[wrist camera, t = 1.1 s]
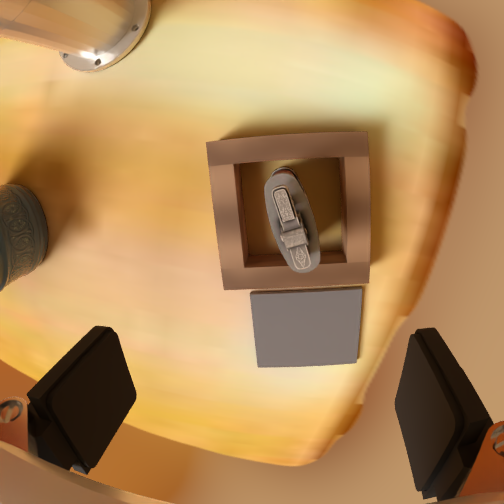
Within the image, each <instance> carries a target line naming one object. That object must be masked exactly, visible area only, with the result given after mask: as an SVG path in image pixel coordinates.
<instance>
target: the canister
mask: <svg viewBox="0 0 504 504" xmlns="http://www.w3.org/2000/svg"><path fill="white" fill-rule="evenodd" d="M47 245H48V231H47V224H46V220H45V216H44V213H43V210H42V208H41V206H40V204H39V202H38V200H37V199H36V197H35V196H34V194H33V193H32V192H31V191H30V190H29V189H27V188H26V187H24V186H22V185H19V184H5V185H1V186H0V291H2V290H3V288H4V287H6V286H7V285H9V284H10V283H12V282H13V281H15V280H17V279H18V278H20V277H22V276H25V275H27V274H29V273H30V272H32V271H34V270H35V269H36V267H37V266H38V265H39V264H40V263H41V262H42V261H43V259H44V257H45V254H46V251H47Z"/></svg>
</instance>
